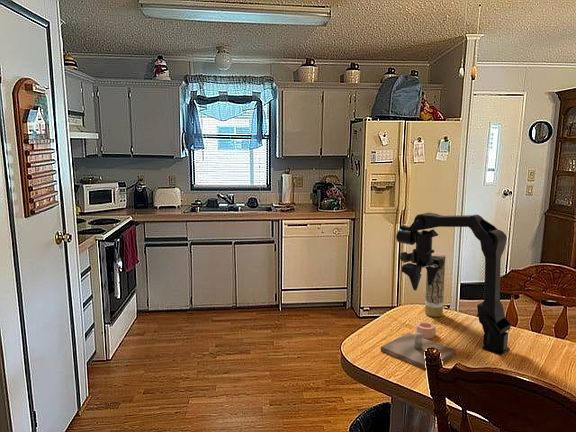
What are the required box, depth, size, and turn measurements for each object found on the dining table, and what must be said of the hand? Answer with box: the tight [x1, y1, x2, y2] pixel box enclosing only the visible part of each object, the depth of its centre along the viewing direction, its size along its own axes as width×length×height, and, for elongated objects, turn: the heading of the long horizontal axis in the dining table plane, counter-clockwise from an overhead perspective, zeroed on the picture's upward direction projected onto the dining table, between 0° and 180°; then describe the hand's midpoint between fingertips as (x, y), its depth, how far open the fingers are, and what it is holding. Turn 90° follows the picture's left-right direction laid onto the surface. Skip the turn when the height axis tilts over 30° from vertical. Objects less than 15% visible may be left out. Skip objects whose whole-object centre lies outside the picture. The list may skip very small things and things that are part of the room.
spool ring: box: [414, 321, 437, 339], centre depth 160 cm, size 6×6×4 cm
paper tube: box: [424, 251, 446, 318], centre depth 176 cm, size 7×7×25 cm
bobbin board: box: [380, 331, 457, 371], centre depth 146 cm, size 18×16×6 cm
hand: (422, 287), depth 166 cm, fingers open, 9 cm apart
